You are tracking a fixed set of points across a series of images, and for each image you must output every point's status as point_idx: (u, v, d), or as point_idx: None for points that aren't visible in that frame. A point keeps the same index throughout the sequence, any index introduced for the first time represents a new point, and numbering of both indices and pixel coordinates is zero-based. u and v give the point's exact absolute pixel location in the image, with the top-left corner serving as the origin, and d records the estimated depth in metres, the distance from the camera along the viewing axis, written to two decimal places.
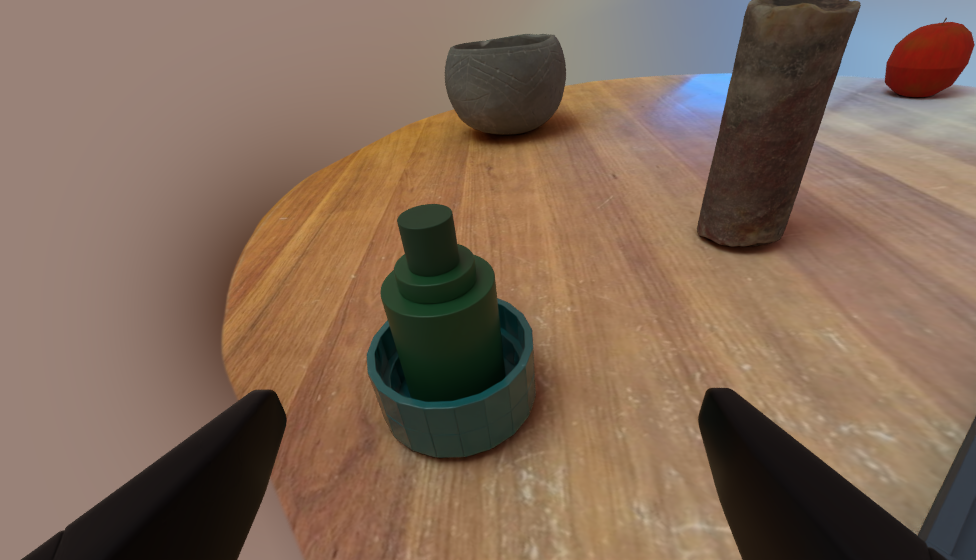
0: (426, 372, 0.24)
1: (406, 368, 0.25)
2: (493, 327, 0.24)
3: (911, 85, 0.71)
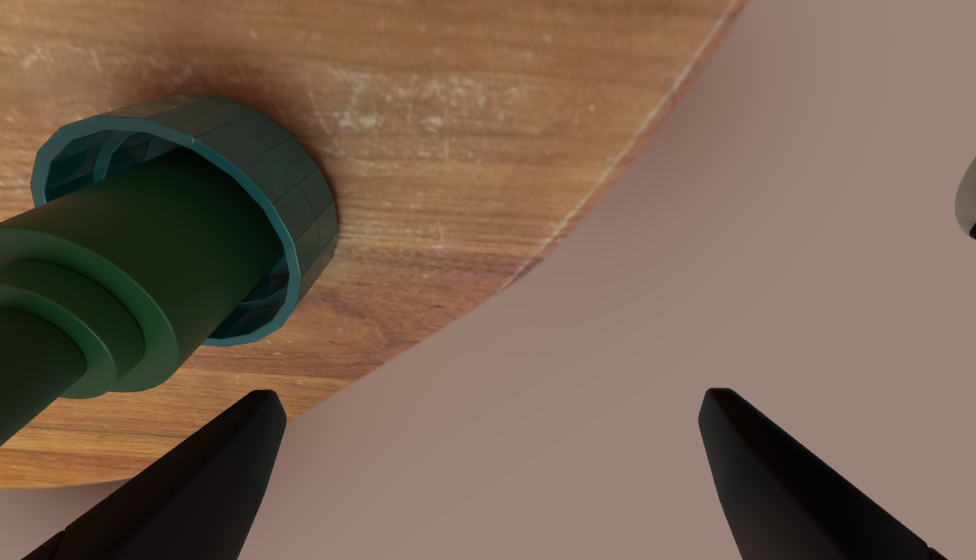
0: (245, 282, 0.17)
1: (240, 301, 0.18)
2: (137, 203, 0.14)
3: None
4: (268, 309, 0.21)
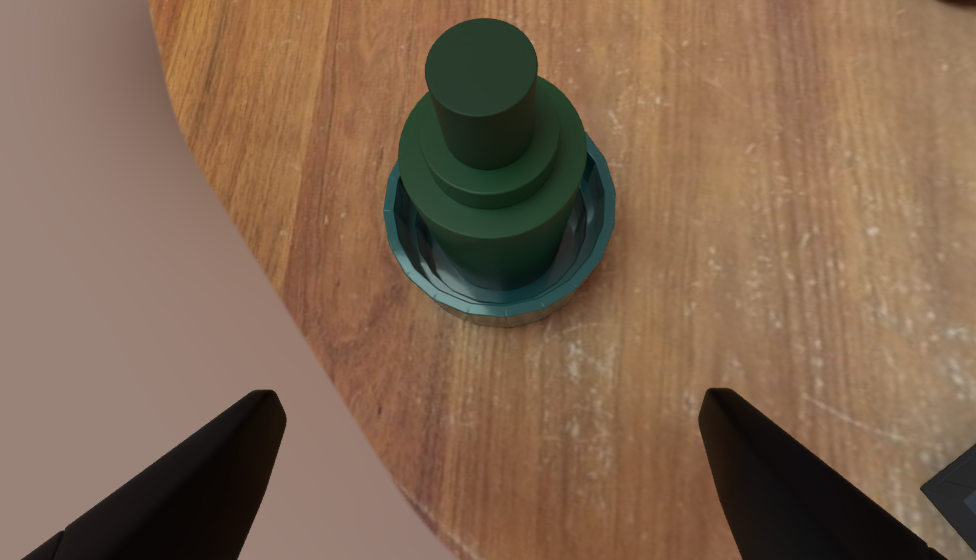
0: (469, 263, 0.18)
1: (440, 245, 0.19)
2: (568, 216, 0.16)
3: None
4: (409, 251, 0.21)
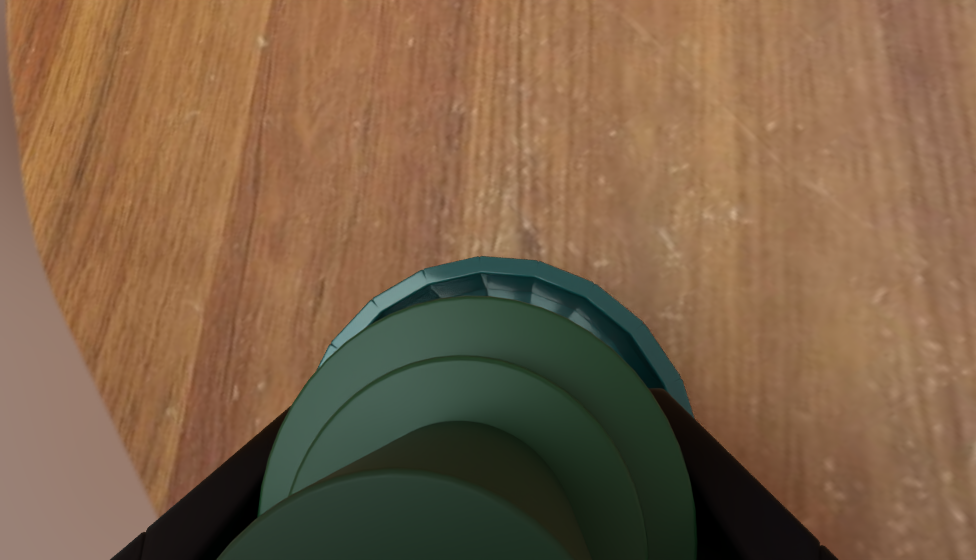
0: None
1: None
2: None
3: None
4: None
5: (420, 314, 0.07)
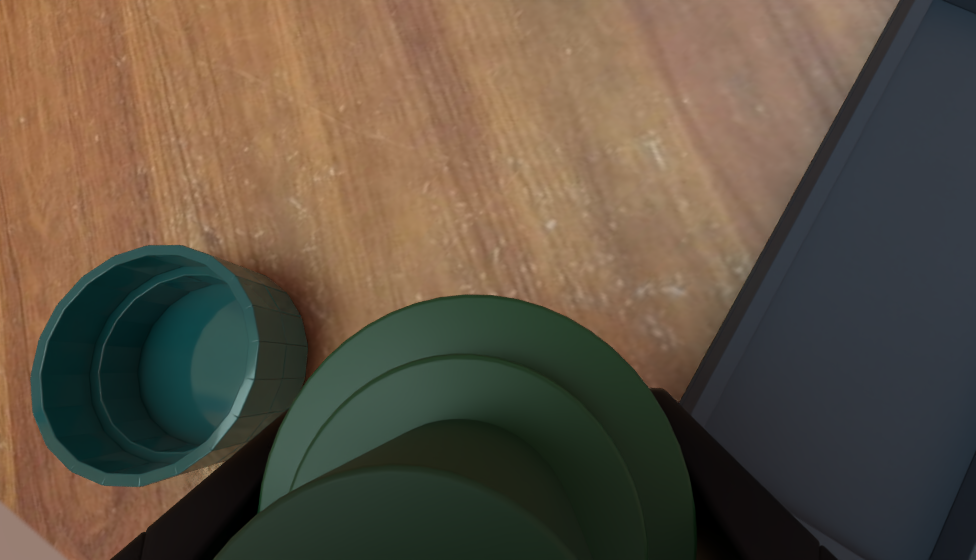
0: None
1: None
2: None
3: None
4: (97, 430, 0.20)
5: (420, 313, 0.07)
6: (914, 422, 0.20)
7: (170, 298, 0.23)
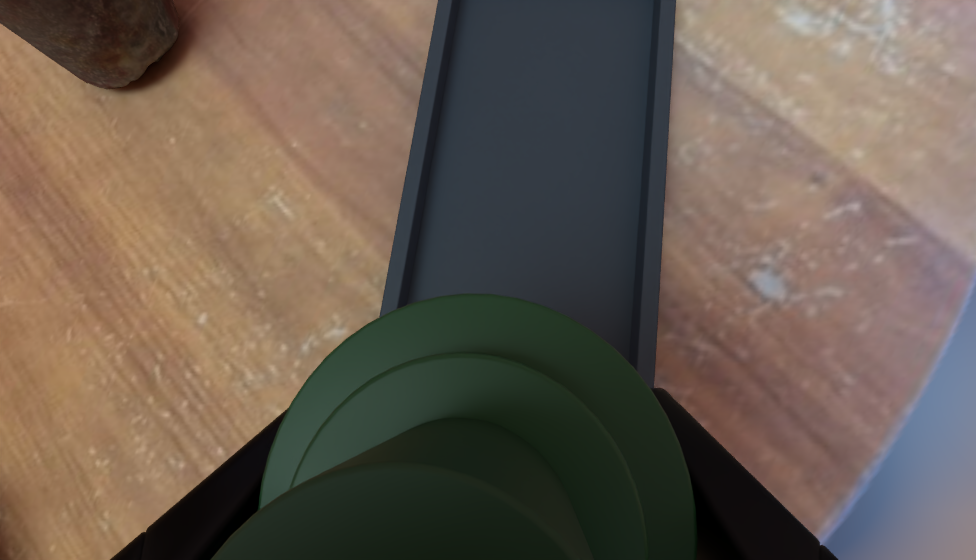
0: None
1: None
2: None
3: None
4: None
5: (420, 312, 0.07)
6: None
7: None
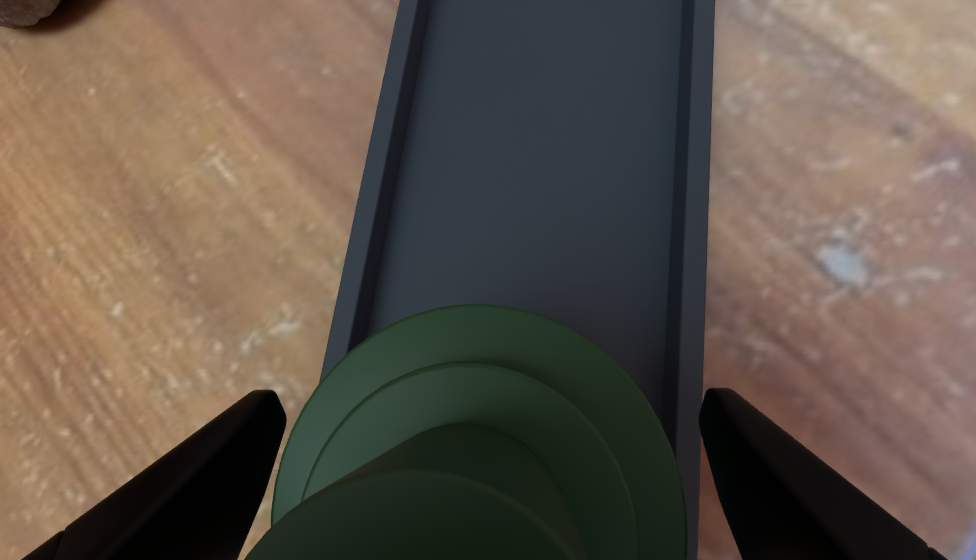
0: None
1: None
2: None
3: None
4: None
5: (425, 321, 0.07)
6: None
7: None
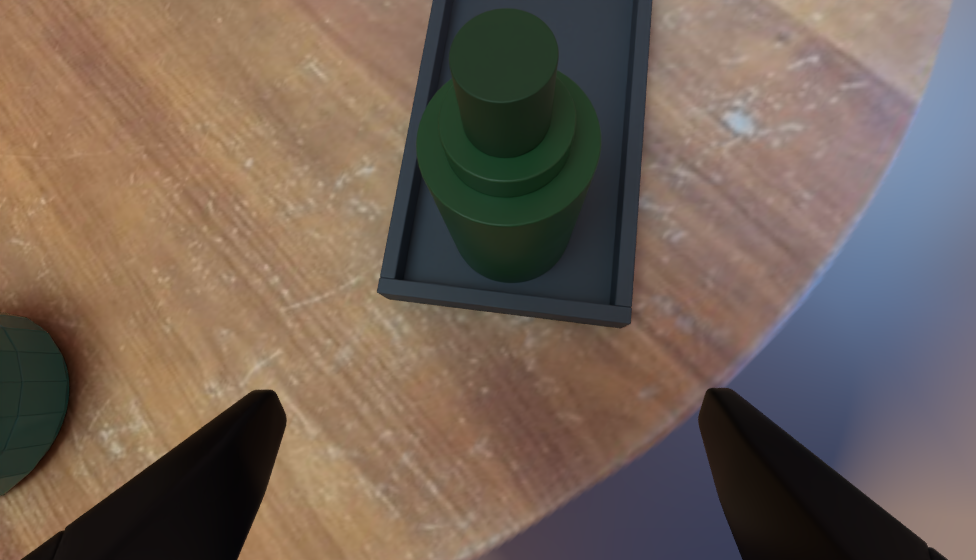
0: (482, 254, 0.18)
1: (453, 236, 0.19)
2: (581, 207, 0.17)
3: None
4: None
5: None
6: None
7: None
